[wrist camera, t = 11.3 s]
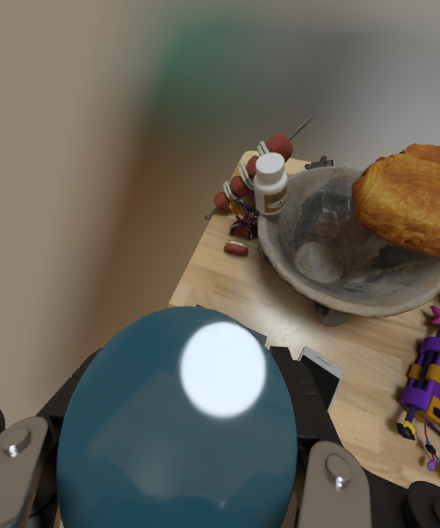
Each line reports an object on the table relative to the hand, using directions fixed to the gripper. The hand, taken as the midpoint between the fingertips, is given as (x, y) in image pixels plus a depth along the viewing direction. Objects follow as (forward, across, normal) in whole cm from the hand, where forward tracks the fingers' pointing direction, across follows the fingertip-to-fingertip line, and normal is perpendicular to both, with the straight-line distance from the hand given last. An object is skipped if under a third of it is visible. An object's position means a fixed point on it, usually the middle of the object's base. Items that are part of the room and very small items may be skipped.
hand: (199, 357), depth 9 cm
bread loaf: (+18, -25, -9) cm, 32 cm away
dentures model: (+34, -2, +5) cm, 35 cm away
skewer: (+45, +6, -1) cm, 46 cm away
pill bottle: (+26, -7, -6) cm, 28 cm away
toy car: (+37, -6, -5) cm, 38 cm away
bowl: (+35, -19, +7) cm, 40 cm away
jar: (+2, 0, +4) cm, 5 cm away
